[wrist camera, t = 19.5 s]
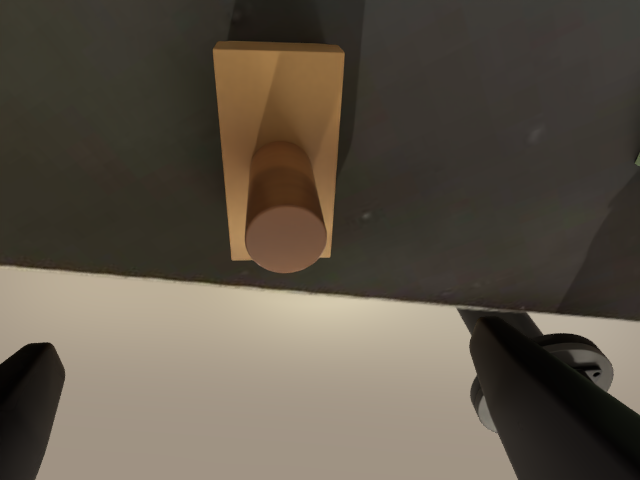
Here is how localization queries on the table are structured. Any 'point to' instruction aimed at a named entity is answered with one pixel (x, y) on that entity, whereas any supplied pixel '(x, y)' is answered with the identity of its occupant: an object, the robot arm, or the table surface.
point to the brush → (279, 148)
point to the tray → (638, 160)
